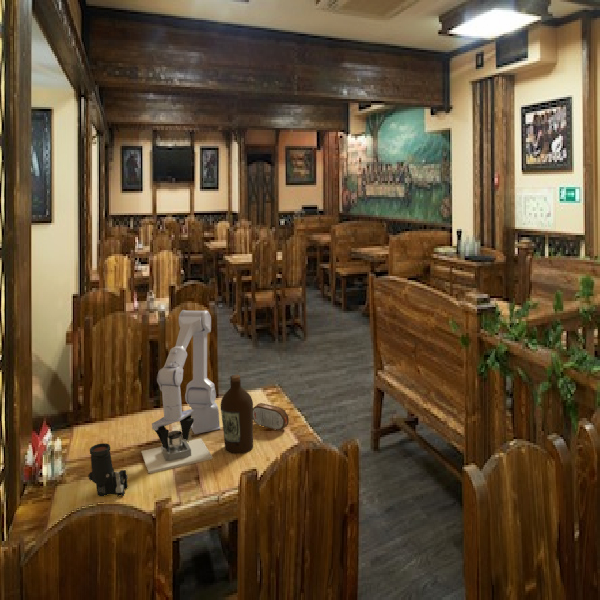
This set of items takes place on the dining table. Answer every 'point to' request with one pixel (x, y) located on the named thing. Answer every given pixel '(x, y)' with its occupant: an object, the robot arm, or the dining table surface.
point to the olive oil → (237, 418)
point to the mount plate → (175, 456)
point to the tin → (270, 416)
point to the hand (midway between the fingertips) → (175, 443)
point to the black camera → (106, 472)
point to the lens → (175, 441)
